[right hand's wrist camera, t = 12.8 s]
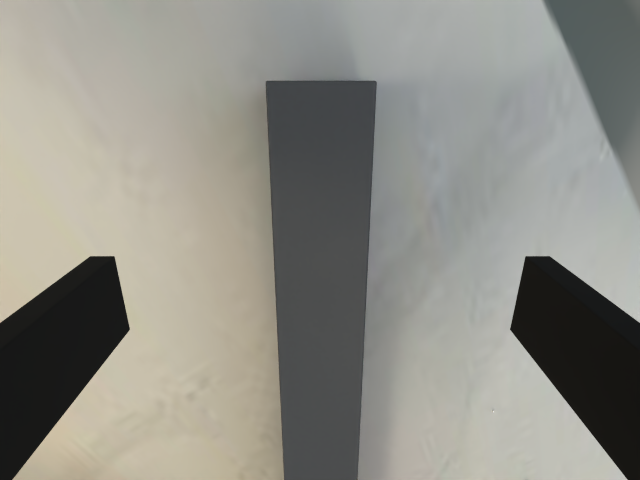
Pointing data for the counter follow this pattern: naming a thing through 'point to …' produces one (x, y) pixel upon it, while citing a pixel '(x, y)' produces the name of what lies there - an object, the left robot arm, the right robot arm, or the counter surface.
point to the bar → (321, 266)
